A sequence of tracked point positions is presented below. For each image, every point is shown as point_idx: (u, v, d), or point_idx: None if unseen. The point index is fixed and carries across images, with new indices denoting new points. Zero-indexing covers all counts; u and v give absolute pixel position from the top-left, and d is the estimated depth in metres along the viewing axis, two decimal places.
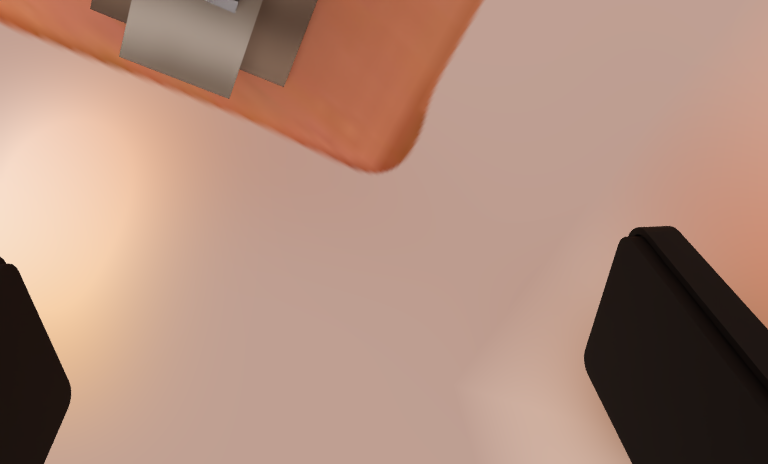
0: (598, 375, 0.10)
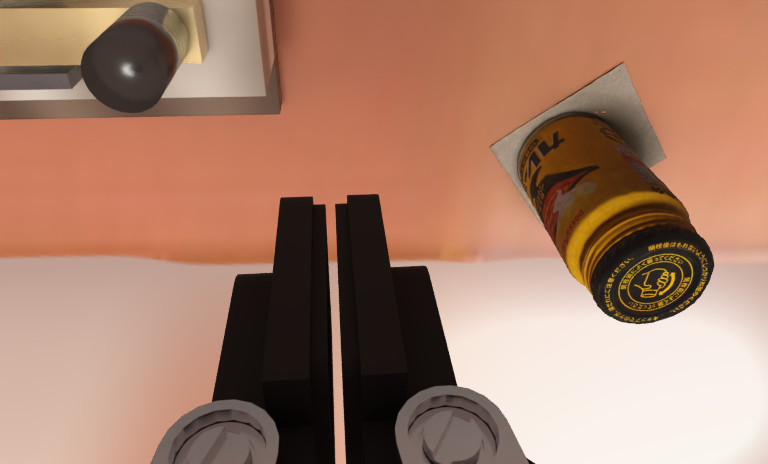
0: None
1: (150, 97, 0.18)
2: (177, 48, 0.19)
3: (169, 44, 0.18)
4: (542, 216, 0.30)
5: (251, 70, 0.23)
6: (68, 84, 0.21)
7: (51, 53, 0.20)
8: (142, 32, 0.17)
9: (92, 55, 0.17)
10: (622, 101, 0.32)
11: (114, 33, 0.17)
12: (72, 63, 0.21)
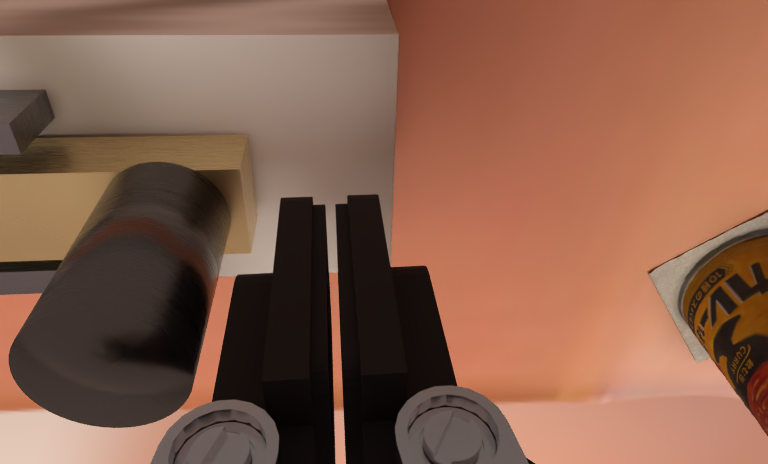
0: None
1: (162, 402, 0.08)
2: (214, 265, 0.10)
3: (199, 274, 0.09)
4: (745, 390, 0.21)
5: None
6: None
7: None
8: (147, 275, 0.08)
9: (34, 344, 0.07)
10: None
11: (83, 297, 0.07)
12: (17, 258, 0.11)
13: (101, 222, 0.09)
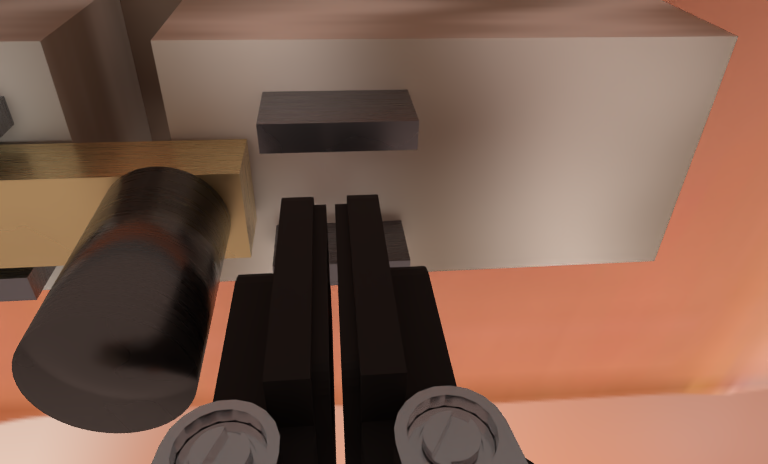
0: None
1: (166, 407, 0.08)
2: (215, 269, 0.10)
3: (202, 279, 0.09)
4: None
5: (649, 227, 0.15)
6: None
7: None
8: (150, 279, 0.08)
9: (37, 350, 0.07)
10: None
11: (87, 302, 0.07)
12: (15, 265, 0.11)
13: (102, 227, 0.09)
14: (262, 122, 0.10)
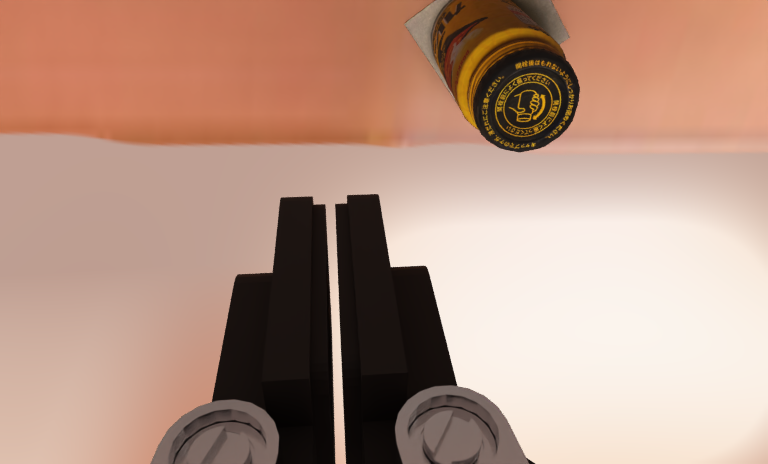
0: None
1: None
2: None
3: None
4: (445, 75, 0.33)
5: None
6: None
7: None
8: None
9: None
10: None
11: None
12: None
13: None
14: None
